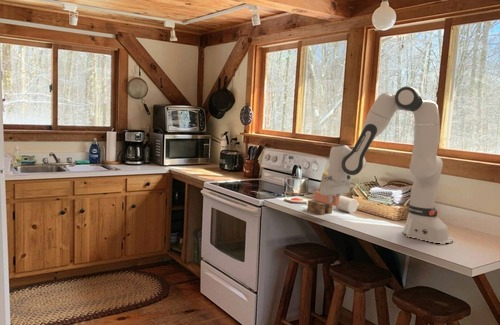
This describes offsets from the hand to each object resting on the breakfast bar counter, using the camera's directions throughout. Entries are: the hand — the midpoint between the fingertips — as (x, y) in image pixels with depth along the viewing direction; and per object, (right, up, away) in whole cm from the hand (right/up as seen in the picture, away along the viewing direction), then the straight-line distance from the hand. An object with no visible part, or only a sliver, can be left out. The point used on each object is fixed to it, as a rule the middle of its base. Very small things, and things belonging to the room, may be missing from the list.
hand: (333, 202), depth 230 cm
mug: (+13, -7, +25) cm, 29 cm away
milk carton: (+5, -3, +53) cm, 53 cm away
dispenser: (-5, -7, +17) cm, 19 cm away
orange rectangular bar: (-3, -1, +4) cm, 5 cm away
